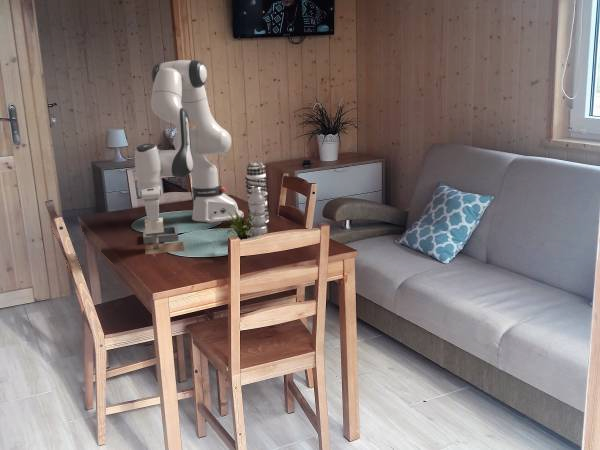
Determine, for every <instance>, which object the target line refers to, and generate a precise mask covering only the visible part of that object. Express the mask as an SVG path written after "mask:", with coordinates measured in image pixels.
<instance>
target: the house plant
mask: <svg viewBox="0 0 600 450" xmlns="http://www.w3.org/2000/svg"><path fill="white" fill-rule="evenodd" d="M227 213H228V212H227ZM235 213H236V218H237V219H234V218H233V216H232V215H231V214H230V213H228V214H229V215H230V216H231V217H232V220H231V219H230V218H229V219H230V220H227V219H226V220H225V221H228V222H229V223H230V224H231V225H230V226H229V228H231V229H228V228H226V227H225V228H222V229H225V230H227V231H226V234H229V233H231V232H232V233H233V231H234V232H235V233H234V236H237V237H239V238H240V239H241V240H242V239H247V238H251V237H252V235H251V233H250V232H251V231H252V230H254V229H256V228H254V229H252V230H251V231H250V228H252V227H254V226H251V223H250V222H251V221H252V220H253V219H254V217H255V216H254V217H253V218H252V219H251V221H250V220H249V217H250V214H249V213H248V214H249V216H248V217H247V219H245V220H244V222H243V217H242V216H241V217H240V216H239V215H238V214H237V212H236V211H235ZM242 213H243V214H244V211H242ZM243 214H242V215H243ZM257 215H258V214H257ZM257 215H256V216H257ZM227 218H228V217H227ZM249 221H250V222H249ZM249 225H250V226H249ZM252 238H253V237H252Z"/></svg>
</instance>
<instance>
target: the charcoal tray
mask: <svg viewBox="0 0 600 450" xmlns="http://www.w3.org/2000/svg"><path fill="white" fill-rule="evenodd" d="M163 227H164V232H162V233H152V234H146V229H145V228H143V230H142V232H143V233H142V238H143V245H150V244H153V238H152V236H153V235H158V242H159V243H170V242H177V241H178V242H180V241H179V239H180V238H179V232H178V226H177V225H171V226H163Z"/></svg>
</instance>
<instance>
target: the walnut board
mask: <svg viewBox="0 0 600 450" xmlns="http://www.w3.org/2000/svg"><path fill="white" fill-rule="evenodd" d="M152 238H153V243H152V244H144V247H145V249H144V250H145V251H144V252H145V253H144V255H146V256H148V255H154V254H156V255H157V254H164V253H165V254H166V253H173V252H182V251H185V245H184V241H178V242H177V241H174V242H164V243H160V242H158V235H153V236H152Z"/></svg>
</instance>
